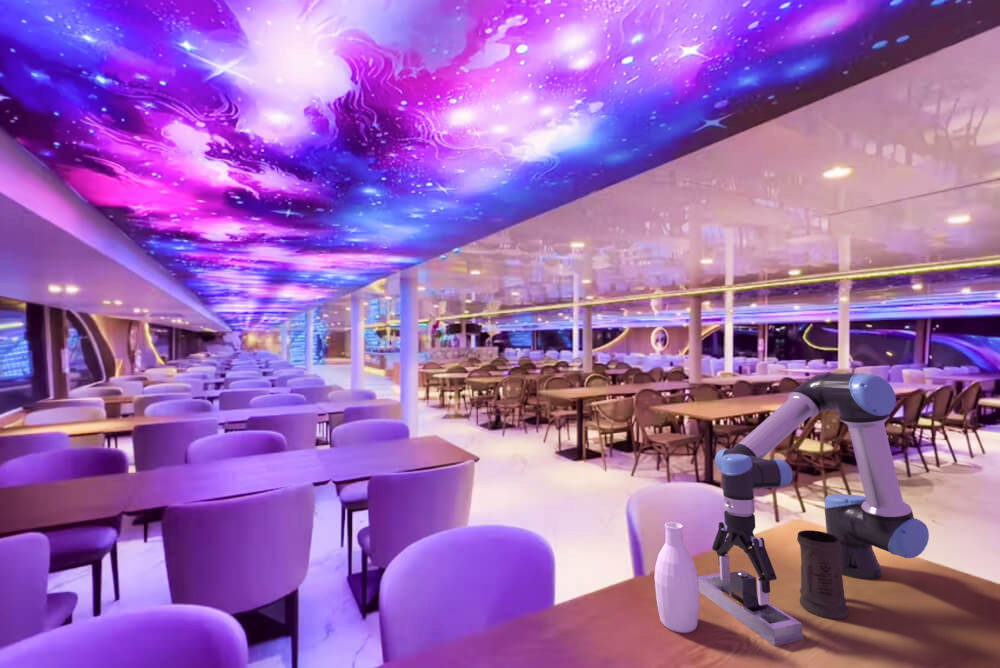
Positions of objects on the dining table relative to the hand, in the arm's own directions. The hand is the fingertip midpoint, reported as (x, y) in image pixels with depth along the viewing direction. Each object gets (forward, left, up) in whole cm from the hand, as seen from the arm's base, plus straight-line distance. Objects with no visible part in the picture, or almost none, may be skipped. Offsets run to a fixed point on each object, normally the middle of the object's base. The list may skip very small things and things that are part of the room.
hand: (743, 591), depth 122 cm
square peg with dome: (0, 0, -6) cm, 6 cm away
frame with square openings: (0, 0, -6) cm, 6 cm away
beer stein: (-23, +2, -6) cm, 24 cm away
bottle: (+20, -1, -6) cm, 21 cm away
